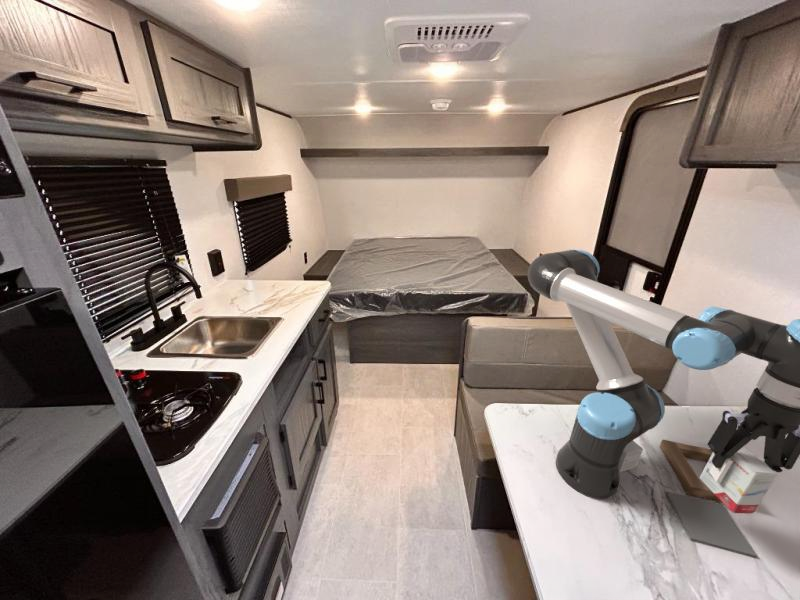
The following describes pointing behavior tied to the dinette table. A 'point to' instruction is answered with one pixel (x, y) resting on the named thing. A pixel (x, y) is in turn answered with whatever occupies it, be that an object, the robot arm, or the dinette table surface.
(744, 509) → the ink box
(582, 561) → the dinette table surface
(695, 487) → the wooden holder frame
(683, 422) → the dinette table surface
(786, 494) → the dinette table surface
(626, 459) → the product box
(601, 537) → the dinette table surface
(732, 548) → the mat
